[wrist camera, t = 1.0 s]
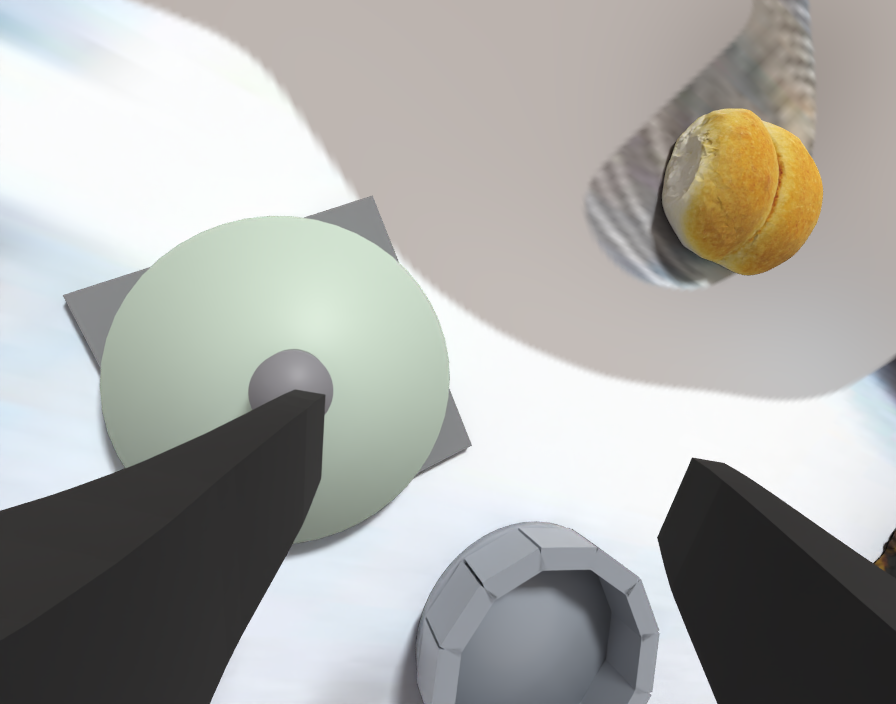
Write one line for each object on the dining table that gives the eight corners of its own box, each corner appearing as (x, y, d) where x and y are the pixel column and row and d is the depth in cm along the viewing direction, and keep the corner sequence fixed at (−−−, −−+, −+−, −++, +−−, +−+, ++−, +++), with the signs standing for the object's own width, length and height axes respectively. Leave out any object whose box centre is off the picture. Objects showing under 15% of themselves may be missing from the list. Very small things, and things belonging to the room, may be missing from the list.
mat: (210, 574, 19) (208, 579, 18) (68, 296, 17) (62, 295, 17) (468, 443, 22) (471, 445, 22) (371, 198, 20) (372, 195, 20)
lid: (201, 596, 18) (171, 673, 14) (41, 286, 16) (-49, 269, 12) (484, 450, 22) (528, 476, 18) (378, 181, 20) (399, 139, 16)
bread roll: (762, 291, 28) (836, 284, 24) (643, 242, 25) (705, 225, 21) (792, 160, 28) (869, 132, 24) (678, 98, 25) (745, 55, 22)
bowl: (466, 788, 22) (490, 854, 20) (379, 596, 21) (391, 637, 18) (640, 659, 25) (684, 700, 22) (576, 482, 24) (613, 502, 21)
